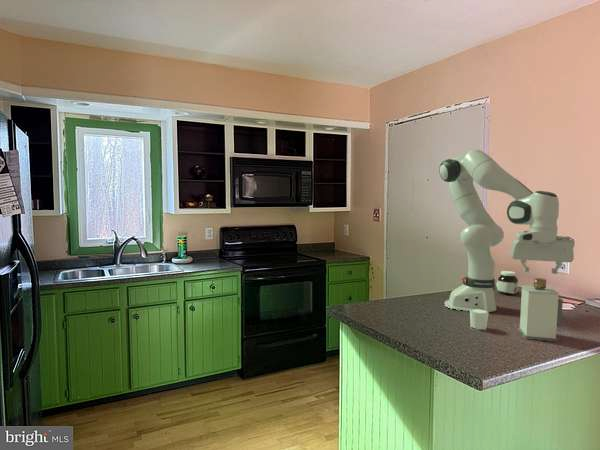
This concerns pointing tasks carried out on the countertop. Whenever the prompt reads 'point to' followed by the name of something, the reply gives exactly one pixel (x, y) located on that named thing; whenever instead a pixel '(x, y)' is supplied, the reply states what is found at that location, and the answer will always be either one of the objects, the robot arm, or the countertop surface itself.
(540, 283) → the plunger
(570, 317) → the countertop surface
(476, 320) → the shot glass
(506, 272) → the spread jar
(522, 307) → the block
